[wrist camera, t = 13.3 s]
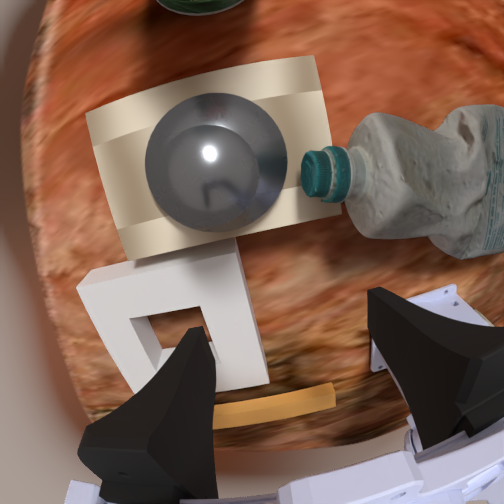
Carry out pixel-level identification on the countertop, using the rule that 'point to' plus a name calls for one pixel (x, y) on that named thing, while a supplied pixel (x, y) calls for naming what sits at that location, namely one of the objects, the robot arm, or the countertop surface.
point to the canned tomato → (198, 6)
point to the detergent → (420, 179)
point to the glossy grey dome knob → (216, 162)
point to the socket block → (175, 298)
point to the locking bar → (274, 407)
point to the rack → (169, 95)
